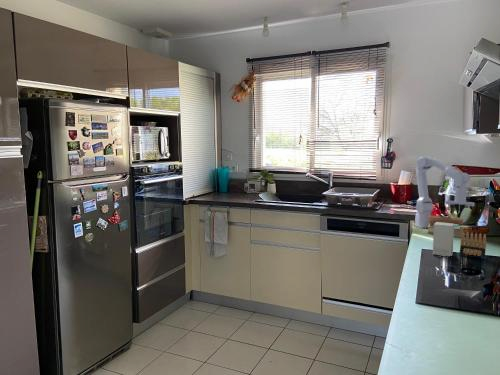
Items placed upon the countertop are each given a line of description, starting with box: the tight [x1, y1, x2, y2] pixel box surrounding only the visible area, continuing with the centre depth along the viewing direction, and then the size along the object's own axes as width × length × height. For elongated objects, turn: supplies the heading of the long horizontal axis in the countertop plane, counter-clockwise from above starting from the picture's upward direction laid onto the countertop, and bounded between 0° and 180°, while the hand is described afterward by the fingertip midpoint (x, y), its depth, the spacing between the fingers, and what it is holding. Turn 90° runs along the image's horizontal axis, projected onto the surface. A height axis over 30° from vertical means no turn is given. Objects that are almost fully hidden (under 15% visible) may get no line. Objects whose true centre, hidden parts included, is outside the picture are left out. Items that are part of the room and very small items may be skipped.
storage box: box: [427, 223, 464, 238], centre depth 234 cm, size 12×18×4 cm, turn 65°
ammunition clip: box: [459, 230, 487, 258], centre depth 187 cm, size 11×2×12 cm, turn 58°
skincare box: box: [432, 222, 455, 256], centre depth 189 cm, size 8×7×16 cm
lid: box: [429, 215, 465, 225], centre depth 234 cm, size 13×18×1 cm
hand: (458, 217), depth 229 cm, fingers closed
